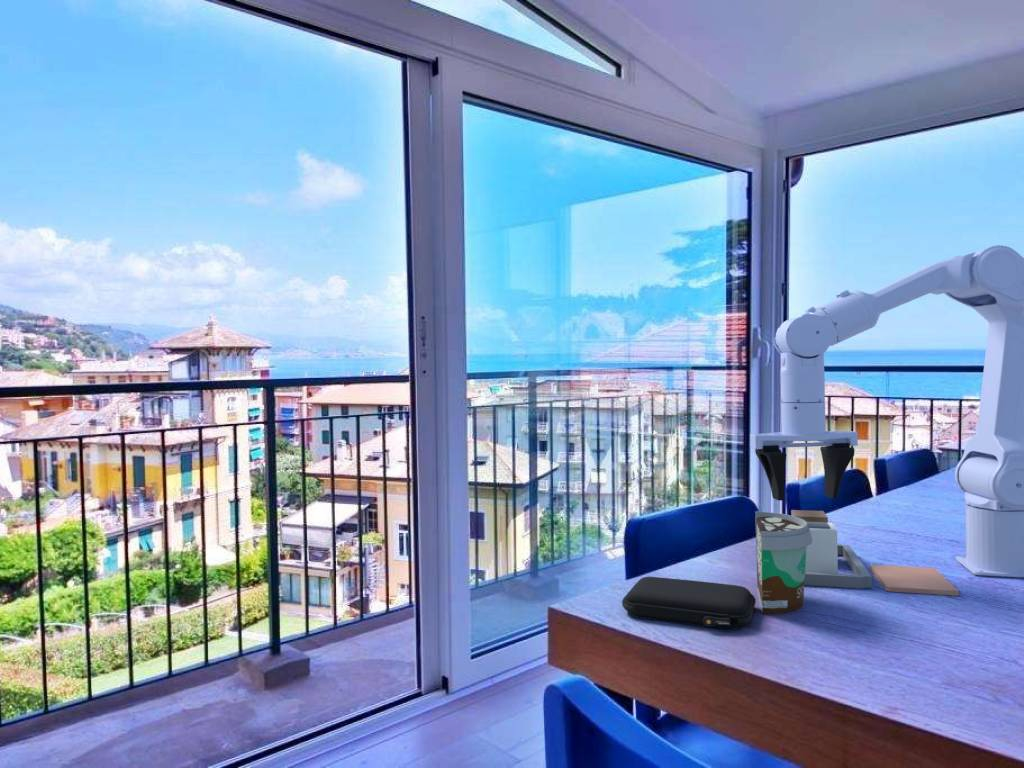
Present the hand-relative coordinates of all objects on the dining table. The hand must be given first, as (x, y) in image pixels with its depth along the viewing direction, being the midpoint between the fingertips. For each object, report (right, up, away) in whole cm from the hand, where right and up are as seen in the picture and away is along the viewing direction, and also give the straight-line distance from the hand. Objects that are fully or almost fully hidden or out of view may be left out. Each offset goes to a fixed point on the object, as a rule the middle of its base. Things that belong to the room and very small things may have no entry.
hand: (804, 498), depth 96 cm
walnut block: (+3, -10, +5) cm, 12 cm away
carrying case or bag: (-20, -12, -15) cm, 28 cm away
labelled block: (+1, -10, -2) cm, 11 cm away
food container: (-8, -11, -12) cm, 18 cm away
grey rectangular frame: (+2, -10, +1) cm, 10 cm away
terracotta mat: (+12, -10, -6) cm, 16 cm away
